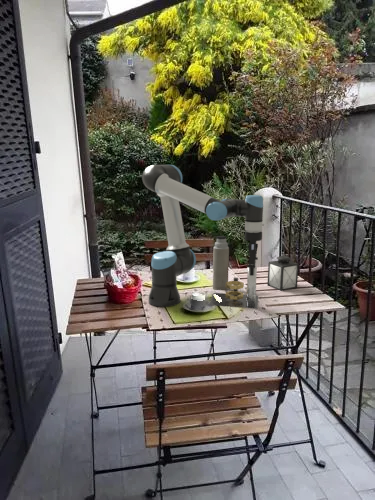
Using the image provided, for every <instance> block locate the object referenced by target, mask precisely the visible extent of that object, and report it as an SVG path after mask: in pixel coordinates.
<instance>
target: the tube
mask: <svg viewBox="0 0 375 500" xmlns="http://www.w3.org/2000/svg"><path fill="white" fill-rule="evenodd" d="M257 270H258V267H257V266H256V267H255V283H254V282H248V281H249V268H247V278H246V279H247V280H246V281H247V283H246V285H247V286H246V295H247V304H246V306H247V307H255V302H256V296H257V273H258V271H257Z"/></svg>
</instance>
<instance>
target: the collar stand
mask: <svg viewBox="0 0 375 500" xmlns="http://www.w3.org/2000/svg"><path fill="white" fill-rule="evenodd" d="M244 286H245V284H244V282H242V281H240V280H239V277H233V280H228V282H226V287H227V288H228V290H229V289H230V290H229V291H226V292H225V293H220V292H213V294H216V295H218V296H219V297H221V299H222V302H220V303H219V302H218V301H216V299H215V298H214V296H213V294H212V295H211V297H210V301H209V303H208V306H215V307H216V306H217V307H229V308H242V309H243V308H244V309H245V308H246V309H258V308H259V307H258V304H259V295H256V302H255V307H247V306H246V304H247V294H244V292H242V291H239V290H241V289H244V288H245V287H244Z"/></svg>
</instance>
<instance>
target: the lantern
mask: <svg viewBox="0 0 375 500" xmlns="http://www.w3.org/2000/svg"><path fill="white" fill-rule="evenodd" d="M283 240H286V235H284V237H283ZM285 252H286V247H285V246H283V250H282V255H279V256H277V257H276V259H277V260H273V261H268V262H267V263H268V267H267V270H268V271H267V286H268V287H271V288H273V289H275V290H278V291H280V292H283V291H288V290H292V289H298V280H299V278H298V276H299V263H296V262H293V261H290V260H291V257H289V256H286V255H285V254H286V253H285Z"/></svg>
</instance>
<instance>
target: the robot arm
mask: <svg viewBox="0 0 375 500" xmlns="http://www.w3.org/2000/svg"><path fill="white" fill-rule="evenodd" d="M141 178H142V182H143V183H142V184H143V185H144V186H145V187H146V188H147V189H148V190H149V191H152V192H154V193H155V194H156V195H157V196H158V197H159V198H160V202H161V203H160V204H161V208H162V213H163V220H164V221H163V222H164V226H165V231H166V232H165V233H166V236H167V237H166V238H167V242H168V243H167V244H168V246H166V249H165V250H163V251H159V252H156V253H154V254H153V255H152V257H151V263H150V264H151V265H150V266H151V289H150V292H149V295H148V303H149V304H150V305H152V306H154V307H155V306H156V307H172V306H176V305H178V304H179V303H181V296H180V292H179V289H178V286H177V277H178V276H182V275H183V274H187V273H189V272H190V271H192V270H193V269H194V267H195V265H196V263H197V257H196V254H195V252H194V251H193V250H192V249H190V245H189V243H187V242H186V236H185V231H184V224H183V218H182V212H181V206H180V203H182V204H185V205H187V206H188V207H191V208H193V209H194V210H197V211H200V212H201V213H204V214H206V216H207V218H208V219H209V220H211V221H221V220H225V219H228V218H231V217H241V218H242V217H243V218H245V220H244V230H245V232H244V240H246V241H248V242H249V243H248V247H247V248H248V254H249V255H248V256H249V258H248V265H246V266H247V267H246V268H247V269H248V268H249V281H248V282H254V283H255V267H257V261H258V260H259V259H258V257H257V253H258V247H259V244H258V243H257V242H260V241H262V240H263V232H262V231H263V227H264V225H265V224H264V223H263V220H264V219H263V218H264V197H263V196H262V195H260V194H259V195H258V194H257V195H256V194H255V195H254V194H253V195H252V194H249V195H248V194H247V195H246V196H245V199H234V198H223V199H221V200H220V199H217V198H215V197H213V196H210V195H208V194H206V193H204V192H202V191H199V190H197V189H195V188H192V187H190V186H188V185H187V184H184V183H183V174H182V172H181V170H180V168H179V167H177V166H176V165H173V164H152V165H150V166H147V167H146V168H145V169H144V171H143V173H142V177H141Z"/></svg>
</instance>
